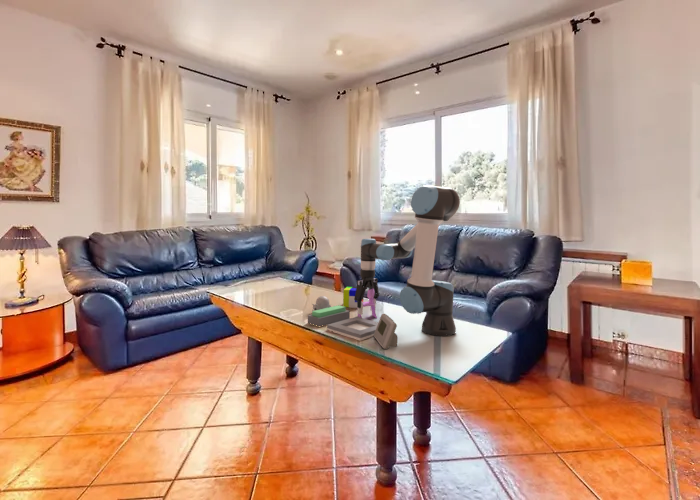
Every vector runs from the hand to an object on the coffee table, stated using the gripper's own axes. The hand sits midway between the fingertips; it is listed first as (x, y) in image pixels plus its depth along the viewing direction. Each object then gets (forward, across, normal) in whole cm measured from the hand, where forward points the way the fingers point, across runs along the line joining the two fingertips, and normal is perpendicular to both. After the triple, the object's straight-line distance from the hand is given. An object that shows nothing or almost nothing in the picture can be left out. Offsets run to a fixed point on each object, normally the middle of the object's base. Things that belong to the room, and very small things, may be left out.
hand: (366, 312), depth 191 cm
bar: (0, +19, -8) cm, 21 cm away
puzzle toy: (+3, -14, -22) cm, 26 cm away
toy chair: (+3, 0, 0) cm, 3 cm away
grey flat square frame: (+3, +20, +12) cm, 23 cm away
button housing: (+3, +19, -8) cm, 21 cm away
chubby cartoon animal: (+3, +11, -23) cm, 26 cm away
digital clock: (+3, +25, +31) cm, 40 cm away
